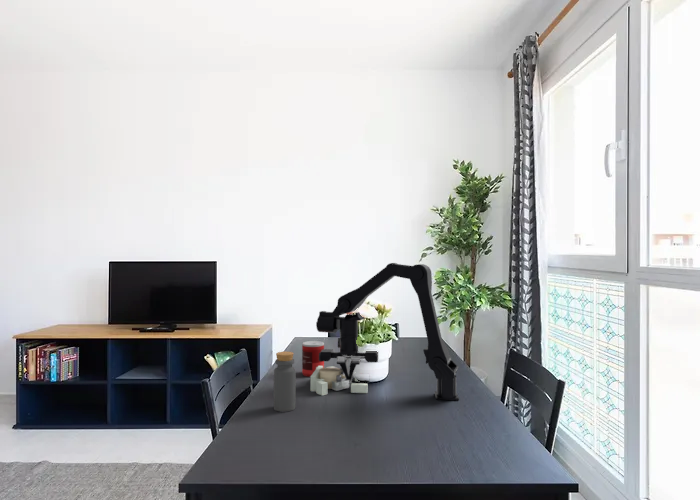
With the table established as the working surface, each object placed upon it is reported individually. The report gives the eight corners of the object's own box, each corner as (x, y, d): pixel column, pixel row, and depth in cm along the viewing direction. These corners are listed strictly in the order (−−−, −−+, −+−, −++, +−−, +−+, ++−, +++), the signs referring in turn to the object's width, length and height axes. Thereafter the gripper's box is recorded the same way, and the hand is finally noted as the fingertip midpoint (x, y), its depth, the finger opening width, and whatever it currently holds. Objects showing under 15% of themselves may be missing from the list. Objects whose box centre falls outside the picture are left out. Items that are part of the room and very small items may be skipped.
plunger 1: (344, 386, 141) (344, 373, 141) (349, 387, 139) (349, 374, 139) (331, 389, 138) (331, 375, 138) (336, 390, 136) (336, 377, 136)
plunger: (351, 382, 145) (351, 369, 146) (345, 383, 144) (345, 370, 144) (341, 379, 149) (341, 366, 149) (336, 380, 148) (336, 367, 148)
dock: (366, 397, 131) (366, 381, 131) (308, 395, 133) (308, 379, 133) (370, 377, 152) (370, 364, 153) (320, 375, 154) (320, 362, 154)
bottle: (291, 412, 118) (291, 355, 118) (270, 411, 119) (270, 354, 119) (298, 405, 123) (298, 351, 124) (278, 404, 125) (278, 350, 125)
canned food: (325, 371, 160) (325, 341, 161) (322, 377, 152) (322, 345, 153) (304, 371, 161) (304, 340, 161) (300, 376, 153) (300, 344, 153)
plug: (339, 389, 139) (339, 373, 139) (317, 388, 140) (317, 372, 140) (342, 382, 146) (342, 367, 146) (321, 382, 147) (321, 367, 147)
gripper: (378, 329, 150) (379, 376, 149) (324, 329, 152) (324, 375, 151) (377, 335, 139) (377, 386, 138) (318, 334, 141) (318, 384, 140)
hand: (349, 382), depth 142 cm, fingers closed
